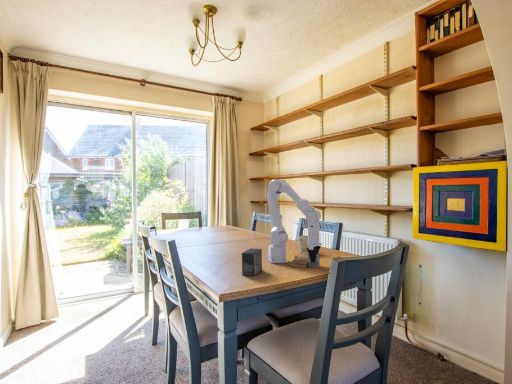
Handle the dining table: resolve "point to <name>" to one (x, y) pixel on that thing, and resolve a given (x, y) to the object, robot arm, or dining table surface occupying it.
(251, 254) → the small box
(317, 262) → the gauge
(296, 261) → the board
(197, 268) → the dining table surface
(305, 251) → the mug
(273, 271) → the dining table surface
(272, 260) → the robot arm
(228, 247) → the dining table surface
